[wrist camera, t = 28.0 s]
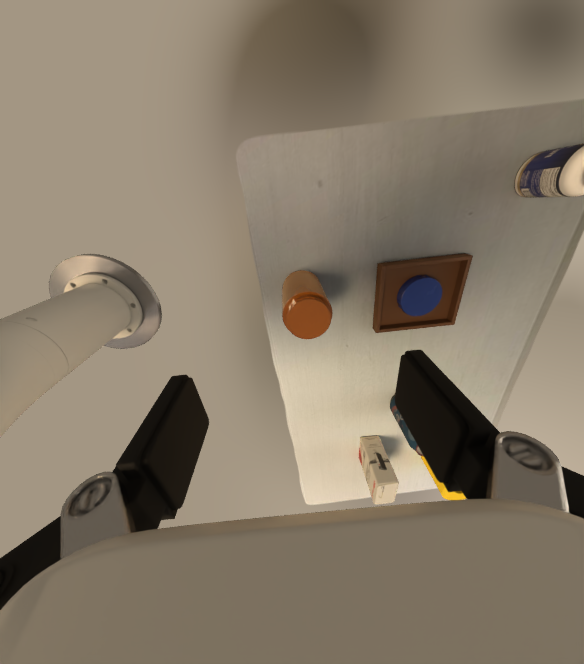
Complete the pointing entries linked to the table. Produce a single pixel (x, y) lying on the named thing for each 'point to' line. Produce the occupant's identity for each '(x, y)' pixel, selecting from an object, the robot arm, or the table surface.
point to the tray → (396, 273)
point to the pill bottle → (553, 173)
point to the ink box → (377, 470)
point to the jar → (305, 305)
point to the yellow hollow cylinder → (447, 495)
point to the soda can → (404, 427)
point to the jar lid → (419, 295)
